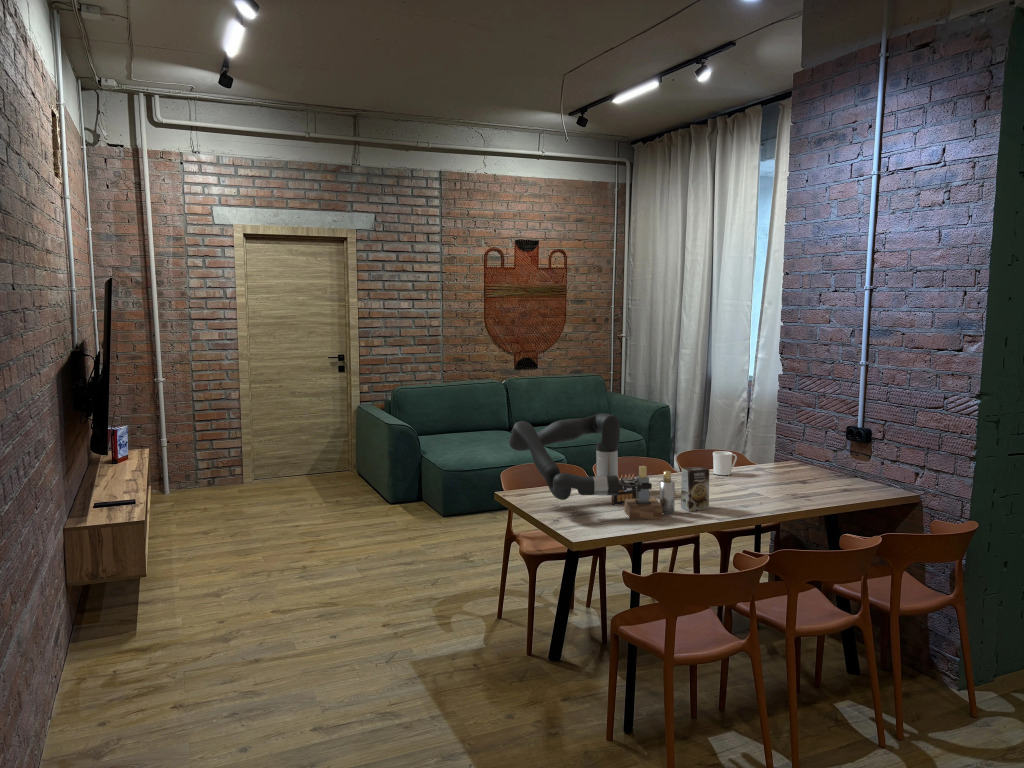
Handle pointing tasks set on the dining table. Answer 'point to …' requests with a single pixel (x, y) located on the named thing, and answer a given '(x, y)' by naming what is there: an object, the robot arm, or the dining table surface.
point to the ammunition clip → (623, 493)
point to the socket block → (643, 509)
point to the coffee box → (695, 488)
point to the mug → (723, 463)
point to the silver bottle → (667, 493)
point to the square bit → (642, 495)
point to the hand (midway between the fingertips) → (649, 484)
